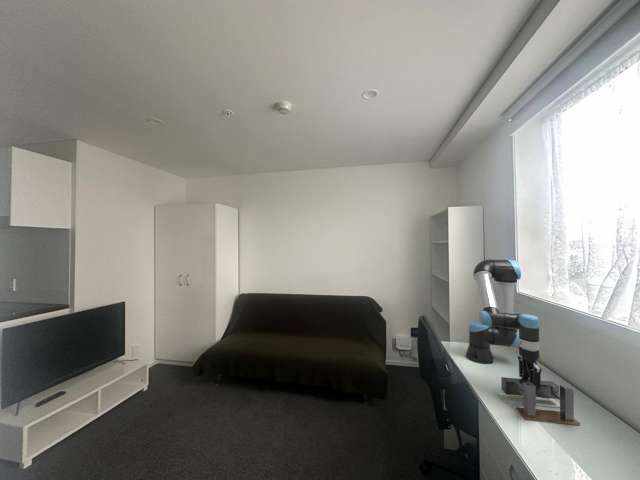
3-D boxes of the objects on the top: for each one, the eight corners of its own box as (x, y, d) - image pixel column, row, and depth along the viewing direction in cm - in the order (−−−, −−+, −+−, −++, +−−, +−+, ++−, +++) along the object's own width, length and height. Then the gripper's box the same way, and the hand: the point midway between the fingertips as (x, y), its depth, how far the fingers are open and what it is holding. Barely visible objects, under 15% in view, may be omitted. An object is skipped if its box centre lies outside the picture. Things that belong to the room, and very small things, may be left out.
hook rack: (511, 405, 118) (511, 374, 118) (561, 410, 115) (560, 378, 115) (525, 419, 108) (525, 386, 109) (580, 425, 105) (579, 391, 105)
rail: (501, 389, 125) (501, 377, 125) (552, 394, 122) (552, 381, 122) (506, 394, 121) (505, 381, 121) (558, 399, 118) (558, 385, 118)
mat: (498, 394, 126) (498, 393, 126) (553, 399, 122) (553, 398, 122) (505, 402, 120) (505, 401, 120) (563, 408, 116) (563, 407, 116)
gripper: (510, 341, 131) (510, 387, 130) (531, 355, 114) (532, 408, 113) (526, 342, 130) (526, 388, 129) (551, 356, 113) (551, 410, 112)
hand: (529, 398), depth 121 cm, fingers closed on rail, 4 cm apart
